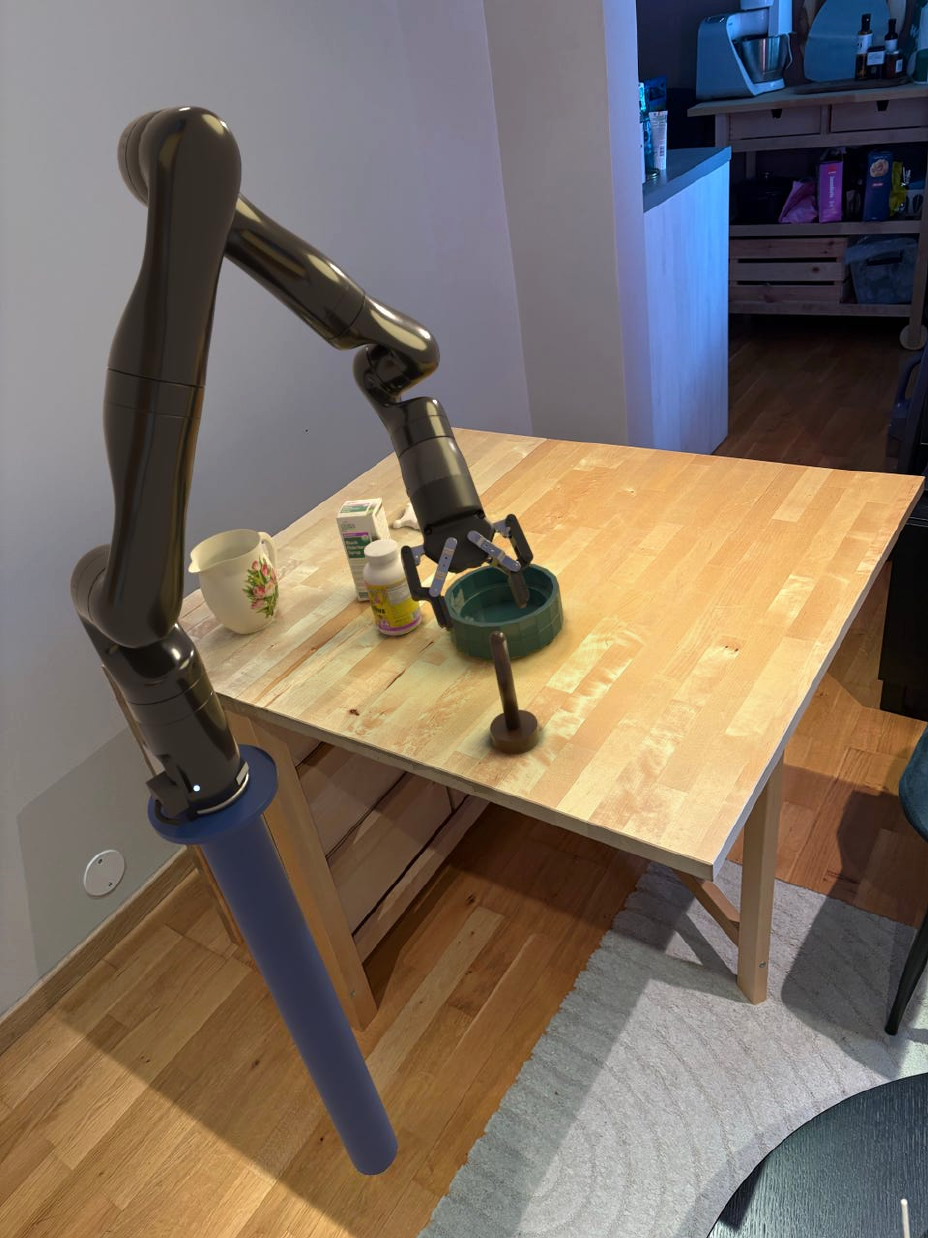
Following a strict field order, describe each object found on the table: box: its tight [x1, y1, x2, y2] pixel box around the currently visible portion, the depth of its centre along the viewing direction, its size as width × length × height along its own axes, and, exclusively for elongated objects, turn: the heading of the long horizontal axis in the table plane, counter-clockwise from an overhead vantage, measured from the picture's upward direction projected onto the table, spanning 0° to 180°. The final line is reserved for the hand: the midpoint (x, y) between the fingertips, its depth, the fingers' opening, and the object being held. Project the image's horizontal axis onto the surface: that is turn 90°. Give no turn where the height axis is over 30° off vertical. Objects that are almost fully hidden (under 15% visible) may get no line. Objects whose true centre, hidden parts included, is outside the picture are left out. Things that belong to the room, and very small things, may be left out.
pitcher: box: [187, 528, 280, 635], centre depth 137 cm, size 11×18×14 cm, turn 158°
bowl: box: [443, 563, 565, 661], centre depth 125 cm, size 16×16×6 cm
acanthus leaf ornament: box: [392, 502, 421, 531], centre depth 158 cm, size 8×7×2 cm
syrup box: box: [335, 497, 392, 602], centre depth 137 cm, size 6×6×14 cm
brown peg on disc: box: [489, 631, 541, 755], centre depth 103 cm, size 6×6×15 cm
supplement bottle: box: [363, 538, 423, 636], centre depth 129 cm, size 7×7×13 cm
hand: (487, 618), depth 102 cm, fingers open, 8 cm apart
